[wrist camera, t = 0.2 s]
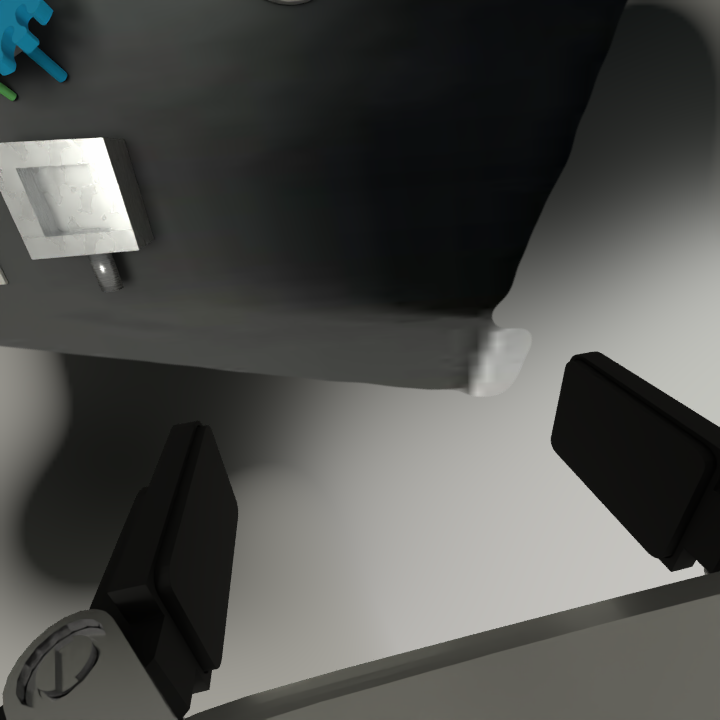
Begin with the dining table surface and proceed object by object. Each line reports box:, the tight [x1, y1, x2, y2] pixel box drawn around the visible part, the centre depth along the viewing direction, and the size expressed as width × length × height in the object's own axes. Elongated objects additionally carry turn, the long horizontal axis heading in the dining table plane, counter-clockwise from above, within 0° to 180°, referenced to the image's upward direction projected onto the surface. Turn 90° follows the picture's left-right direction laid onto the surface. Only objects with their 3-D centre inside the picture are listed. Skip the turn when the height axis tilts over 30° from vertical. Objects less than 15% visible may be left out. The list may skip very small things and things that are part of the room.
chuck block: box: [0, 138, 154, 292], centre depth 36 cm, size 13×9×5 cm
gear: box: [0, 0, 67, 101], centre depth 30 cm, size 11×6×10 cm
